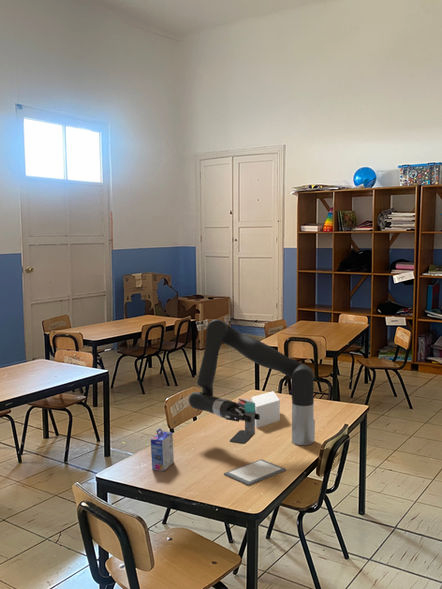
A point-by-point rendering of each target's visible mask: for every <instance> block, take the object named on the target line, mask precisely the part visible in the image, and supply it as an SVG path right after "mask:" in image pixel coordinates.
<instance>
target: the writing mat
mask: <svg viewBox="0 0 442 589" xmlns="http://www.w3.org/2000/svg"><path fill="white" fill-rule="evenodd" d="M286 470H287V469H286V468H284V467H282V466H279V465H278V464H275V463H273V462H270V461H267V460H264V459H262V458H261V459H258V460H255V461H253V462H250V463H248V464H245V465H242V466H239V467H237V468H234V469H232V470H229V471H226V472H224V473H223V475H224V476H226V477H228V478H230V479H233V480H234V481H236V482H239V483H241V482H242V484H243V485H246V486H248V485H249V486H251V485H253V484H256V483H258V481H259V482H261V481H263V480H266V479H268V478H271V477H273V476H276V475H278V474H280V473H282V472H285V471H286Z"/></svg>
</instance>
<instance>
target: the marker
mask: <svg viewBox="0 0 442 589" xmlns="http://www.w3.org/2000/svg"><path fill="white" fill-rule="evenodd" d="M245 415H247V416H250V417H251V422H250V423H249V422H246V421H244V430H245V434H247V435H253V434H254V435H255V434H256V427H255V403H253V402H246V403H245ZM254 435H253V436H254Z"/></svg>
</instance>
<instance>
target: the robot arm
mask: <svg viewBox="0 0 442 589" xmlns="http://www.w3.org/2000/svg"><path fill="white" fill-rule="evenodd" d="M205 336H206V337H205V347H204V351H203V356H202V360H201V364H200V368H199V371H198V376H197V381H196V385H197V386H198V387H201V390H202V391H201V392H199V391H195V392H192V393H191V394H190V395H189V397H188V403H189V406H190V407H192V408H193V409H196V410H199V411H205V412H209V413H211V414H213V415H216V416H218V417H220V418H223V419H225V420H227V421H232V422H240V421H241V422H245V421H246V422H249V423H250V422H251V417H250V416H247V415H245V408H243V407H239V405H238V402H236V401H232V400H229V399H226V398H221V397H218V396H215V395H214V386H213V385H214V381H215V377H216V371H217V367H218V366H217V365H218V359H219V351H220V349H221V345H222V344H224V345H227V346H229V347H231V348H233V349H234V350H236V351H237V352H238V353H239V354H241V355H242V356H244V357H245V358H247V359H248V360H250V361H251V362H253V363H255V364H258V365H259V366H261V367H264V368H267V369H271V370H274V371H277V372H280V373H282V374H284V375H286V376H287V377H289V378H290V379H291V442H292V443H293V444H294V445H297V446H310V445H312V444H313V443H314V442H315V436H316V433H315V432H316V431H315V430H316V429H315V428H316V427H315V426H316V424H315V423H316V421H315V418H314V411H315V410H314V407H315V405H314V404H315V403H314V402H315V399H314V398H315V397H314V389H315V388H314V386H315V385H314V383H315V382H314V379H315V372H314V369H312V367H310V366H309V365H306V364H304V363H302V362H299V361H297V360H294V359H293V358H290V357H288V356H286V355H285V354H283V353H282V352H280V351H278V350H277V349H275V348H273V347H272V346H269V345H268V344H266V343H265V342H263V341H261V340H258V339H256V338H253V337H252V336H248V335H246V334H244V333H241V332H240V331H238V330H237V329H235V328H233V327H232V326H230V325H229V324H227V323H226V322H225V321H223V320H221V319H212V320H211V321H209V323H208V324H207V326H206V335H205ZM255 419H256V420H259V419H260V415H259V414H257V413H256V410H255Z"/></svg>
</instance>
